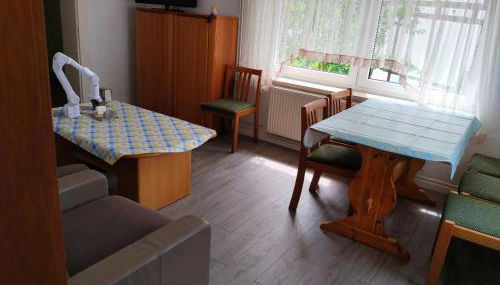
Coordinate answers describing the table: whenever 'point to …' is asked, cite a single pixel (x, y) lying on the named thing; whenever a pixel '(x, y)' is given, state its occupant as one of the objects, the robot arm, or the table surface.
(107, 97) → the coffee box
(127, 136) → the table surface
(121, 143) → the table surface
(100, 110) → the white rectangular block
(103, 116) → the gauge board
